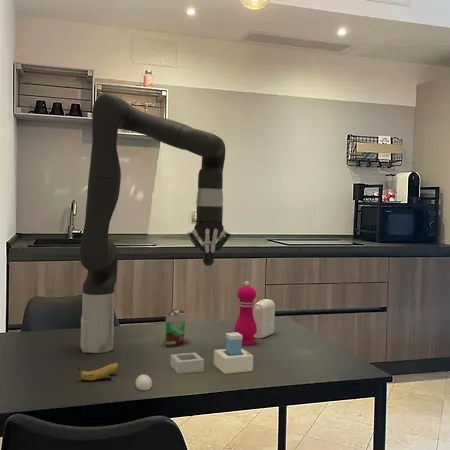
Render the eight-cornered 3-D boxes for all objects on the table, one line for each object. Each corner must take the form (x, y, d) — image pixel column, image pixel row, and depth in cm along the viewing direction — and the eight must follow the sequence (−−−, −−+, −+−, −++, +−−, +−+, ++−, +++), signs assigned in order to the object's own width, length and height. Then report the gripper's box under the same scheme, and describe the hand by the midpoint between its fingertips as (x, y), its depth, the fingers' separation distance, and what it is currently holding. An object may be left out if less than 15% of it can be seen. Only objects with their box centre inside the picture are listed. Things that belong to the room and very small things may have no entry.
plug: (229, 370, 140) (230, 336, 139) (224, 366, 143) (225, 333, 142) (241, 369, 141) (242, 335, 141) (236, 365, 144) (237, 332, 144)
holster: (177, 377, 136) (178, 362, 136) (170, 369, 142) (170, 354, 142) (203, 374, 138) (204, 359, 138) (194, 366, 145) (195, 352, 145)
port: (224, 377, 137) (225, 356, 137) (213, 368, 144) (214, 348, 144) (252, 374, 140) (253, 354, 140) (240, 365, 147) (240, 346, 147)
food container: (185, 348, 162) (186, 316, 162) (165, 348, 162) (165, 315, 162) (188, 338, 175) (189, 308, 174) (170, 337, 175) (170, 307, 174)
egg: (149, 386, 129) (150, 370, 129) (153, 395, 123) (153, 378, 123) (134, 387, 128) (134, 371, 128) (137, 396, 122) (137, 380, 122)
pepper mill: (261, 343, 171) (262, 281, 170) (246, 347, 166) (248, 283, 165) (244, 338, 176) (245, 278, 175) (229, 342, 171) (231, 280, 170)
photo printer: (264, 331, 187) (265, 296, 186) (275, 333, 184) (276, 298, 184) (250, 337, 178) (251, 301, 177) (261, 339, 176) (263, 302, 175)
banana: (117, 376, 135) (118, 361, 135) (118, 379, 133) (119, 364, 133) (76, 379, 132) (77, 364, 132) (77, 383, 130) (77, 367, 130)
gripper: (191, 204, 145) (190, 267, 146) (236, 205, 150) (234, 266, 151) (183, 204, 152) (182, 264, 153) (226, 205, 157) (224, 263, 158)
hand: (208, 265), depth 152 cm, fingers closed
